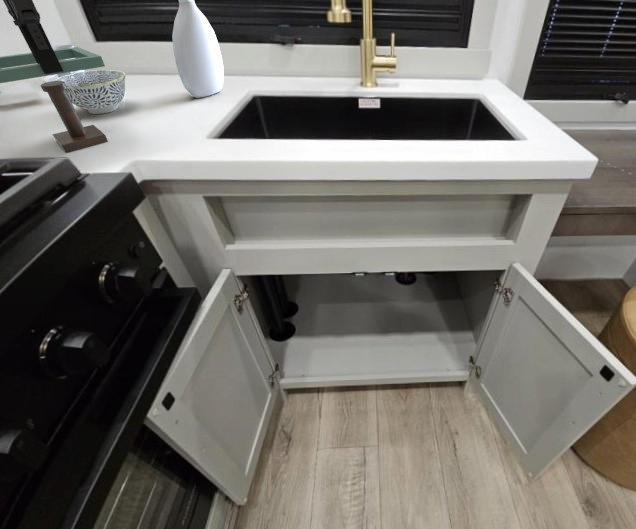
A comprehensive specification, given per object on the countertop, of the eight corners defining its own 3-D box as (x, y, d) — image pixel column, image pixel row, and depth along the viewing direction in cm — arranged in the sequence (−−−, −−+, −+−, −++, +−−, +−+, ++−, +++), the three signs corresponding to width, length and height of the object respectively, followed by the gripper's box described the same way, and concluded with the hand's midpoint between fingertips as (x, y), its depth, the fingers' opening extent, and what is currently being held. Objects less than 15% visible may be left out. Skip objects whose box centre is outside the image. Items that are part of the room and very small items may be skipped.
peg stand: (56, 141, 69) (23, 83, 61) (96, 131, 73) (70, 76, 65) (65, 152, 64) (32, 92, 57) (108, 141, 68) (81, 83, 61)
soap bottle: (215, 85, 99) (190, -34, 81) (233, 89, 96) (212, -34, 78) (175, 97, 91) (138, -33, 73) (194, 102, 87) (160, -34, 69)
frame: (-14, 69, 60) (-20, 59, 59) (81, 55, 68) (77, 46, 67) (-2, 83, 51) (-9, 72, 50) (105, 66, 59) (101, 56, 58)
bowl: (103, 123, 76) (88, 88, 71) (53, 117, 80) (34, 83, 75) (149, 103, 87) (138, 71, 82) (103, 98, 91) (90, 67, 86)
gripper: (-14, -160, 37) (88, 74, 53) (-26, -136, 45) (66, 61, 61) (-104, -173, 33) (35, 83, 49) (-100, -144, 41) (18, 68, 57)
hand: (52, 71), depth 55 cm, fingers closed on frame, 2 cm apart
